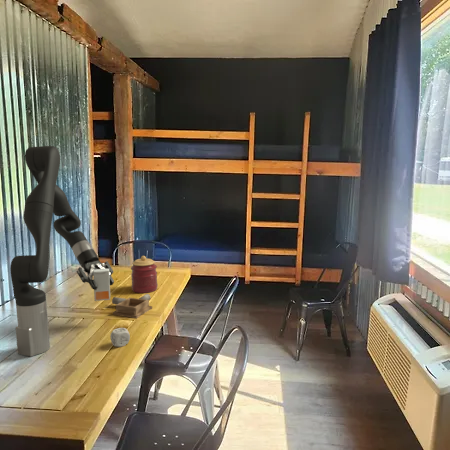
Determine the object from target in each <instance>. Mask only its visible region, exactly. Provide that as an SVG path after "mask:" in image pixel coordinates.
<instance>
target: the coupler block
mask: <svg viewBox="0 0 450 450" xmlns="http://www.w3.org/2000/svg"><path fill="white" fill-rule="evenodd" d="M151 299H152V297H151V295H150V294H148V293H145V294H144V295H142V296H141V297H139V298H135V297H128V298H125V297H116V296H114V297H112V299H111V303H112V304H113V305H115V310H114V311H112V315H114V316H120V317H127V318H132V319H133V318H134V319H138V318H139V317H141V316H143V315H144V314H145V313H147V312H149V311H151V310H152V309H153V306H152V305H150V302H149V301H150V300H151Z"/></svg>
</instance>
